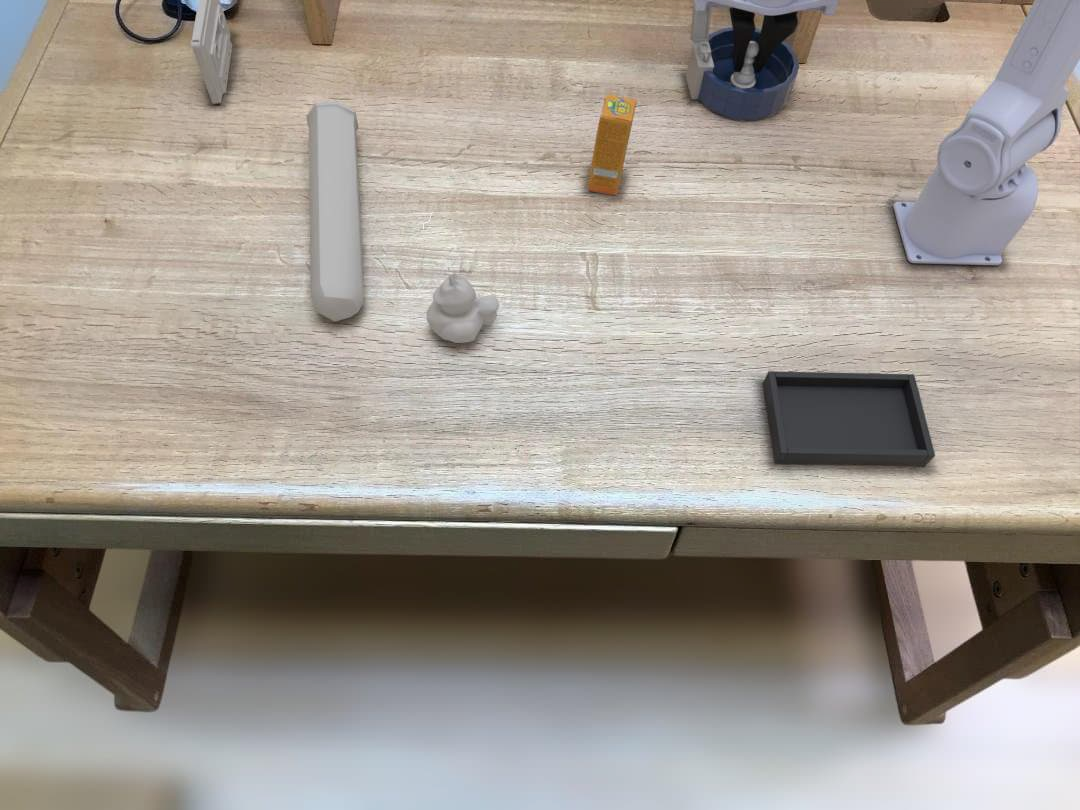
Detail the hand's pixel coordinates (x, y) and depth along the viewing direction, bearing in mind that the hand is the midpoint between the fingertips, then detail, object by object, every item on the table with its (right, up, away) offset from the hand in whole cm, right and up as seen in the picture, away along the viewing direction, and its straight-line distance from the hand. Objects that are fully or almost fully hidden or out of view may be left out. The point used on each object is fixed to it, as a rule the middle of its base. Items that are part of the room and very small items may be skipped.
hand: (746, 66), depth 95 cm
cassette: (-59, 0, +1) cm, 59 cm away
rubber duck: (-30, -31, -15) cm, 46 cm away
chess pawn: (0, -1, +2) cm, 2 cm away
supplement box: (-16, -15, -5) cm, 22 cm away
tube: (-43, -20, -10) cm, 49 cm away
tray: (+4, -40, -19) cm, 44 cm away
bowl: (0, -1, +3) cm, 3 cm away
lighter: (-5, -2, +4) cm, 7 cm away
